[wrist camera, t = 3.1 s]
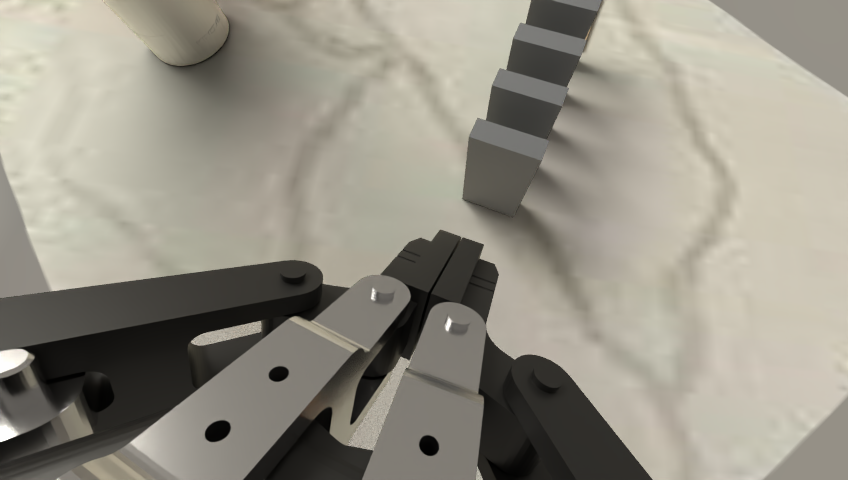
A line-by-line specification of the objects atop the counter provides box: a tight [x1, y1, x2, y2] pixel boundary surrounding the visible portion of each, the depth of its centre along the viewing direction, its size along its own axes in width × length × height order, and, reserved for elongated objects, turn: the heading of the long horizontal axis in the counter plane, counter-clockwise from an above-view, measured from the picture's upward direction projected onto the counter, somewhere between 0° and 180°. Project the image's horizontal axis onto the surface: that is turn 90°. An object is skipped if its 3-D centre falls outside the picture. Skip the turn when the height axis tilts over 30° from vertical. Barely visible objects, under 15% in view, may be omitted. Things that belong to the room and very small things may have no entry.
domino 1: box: [526, 0, 602, 39], centre depth 31 cm, size 5×2×10 cm, turn 67°
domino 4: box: [462, 118, 549, 217], centre depth 28 cm, size 5×2×10 cm, turn 67°
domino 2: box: [507, 23, 587, 87], centre depth 30 cm, size 5×2×10 cm, turn 67°
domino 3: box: [486, 68, 569, 139], centre depth 29 cm, size 5×2×10 cm, turn 67°
